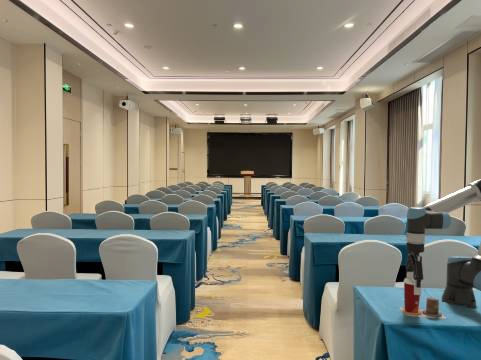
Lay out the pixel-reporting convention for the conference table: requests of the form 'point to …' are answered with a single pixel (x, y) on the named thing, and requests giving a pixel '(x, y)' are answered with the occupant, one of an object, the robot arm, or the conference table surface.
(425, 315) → the board
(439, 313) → the grey pad
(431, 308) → the brown short cylinder
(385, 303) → the conference table surface
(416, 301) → the paper cup
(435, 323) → the conference table surface
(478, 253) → the robot arm
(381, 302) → the conference table surface
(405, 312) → the terracotta pad
